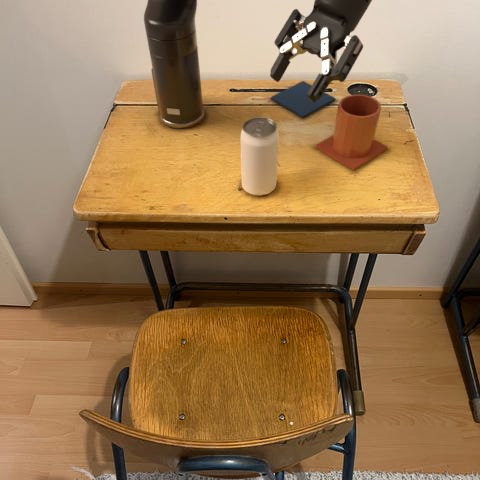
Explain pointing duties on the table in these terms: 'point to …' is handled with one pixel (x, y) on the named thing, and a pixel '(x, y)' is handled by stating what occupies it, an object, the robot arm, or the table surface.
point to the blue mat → (301, 100)
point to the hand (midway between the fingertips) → (291, 89)
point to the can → (259, 155)
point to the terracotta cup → (355, 125)
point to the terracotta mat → (351, 162)
